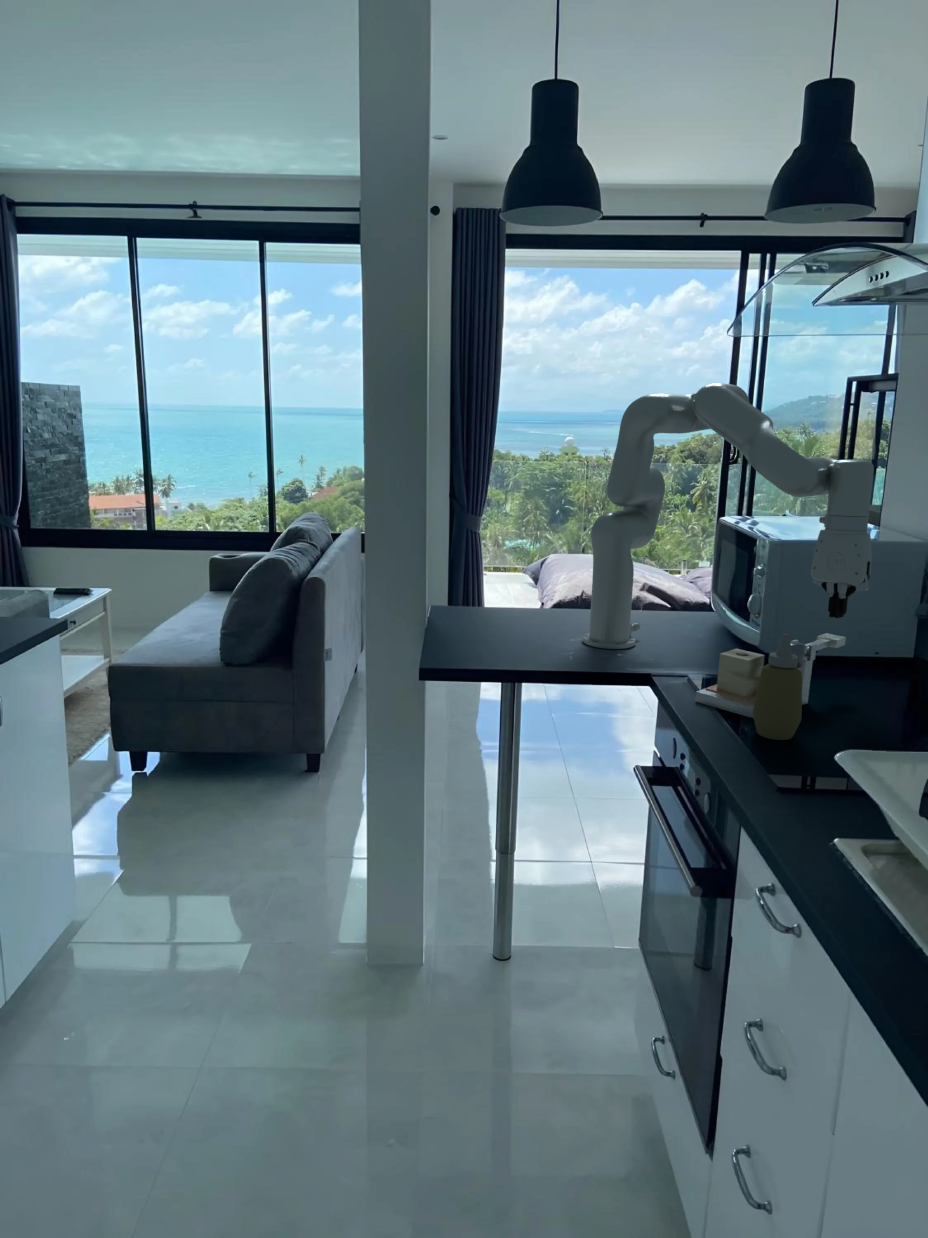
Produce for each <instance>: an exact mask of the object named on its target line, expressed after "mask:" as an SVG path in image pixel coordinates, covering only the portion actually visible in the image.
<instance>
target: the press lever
mask: <svg viewBox="0 0 928 1238" xmlns="http://www.w3.org/2000/svg"><path fill="white" fill-rule="evenodd" d="M846 639H847V637H846V636H842V635H837V634H831V633H827V632H826V633H823V634H819V635H817V637H816V640H814V641H811V642H808V643H805V644H804V643H802V642H794V641H793V640H790V643H791V652H792V654H794V655H796V656H798V662H797V666H796V667H797V668H800V667H803V660H804V656H805V657H807V656H808V648H809V645H811V644H817V647H816V652H818V651H819V650H820V651H821V650H823V649H825V648H829V647H830V648H834V649H838V648H841V647H843V646H845V645H846Z"/></svg>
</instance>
